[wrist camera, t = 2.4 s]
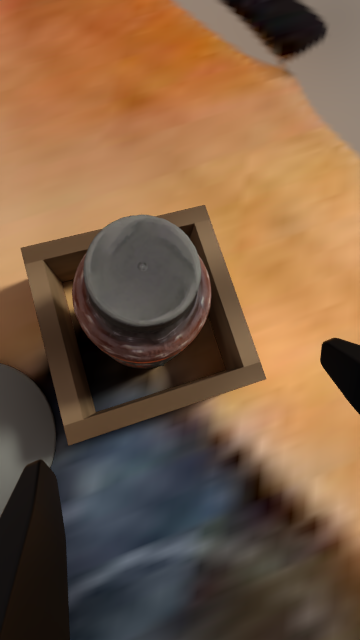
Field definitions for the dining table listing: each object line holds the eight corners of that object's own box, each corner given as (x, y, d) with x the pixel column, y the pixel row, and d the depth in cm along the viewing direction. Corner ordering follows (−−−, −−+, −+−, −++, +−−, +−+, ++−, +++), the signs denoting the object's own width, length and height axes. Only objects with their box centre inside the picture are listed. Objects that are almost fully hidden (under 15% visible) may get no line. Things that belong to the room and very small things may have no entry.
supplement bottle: (85, 352, 21) (15, 317, 10) (118, 272, 22) (90, 161, 11) (170, 382, 21) (196, 382, 10) (198, 301, 22) (250, 221, 11)
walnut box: (244, 379, 21) (266, 378, 17) (84, 433, 20) (68, 445, 16) (195, 234, 23) (204, 204, 19) (43, 272, 21) (20, 248, 18)
